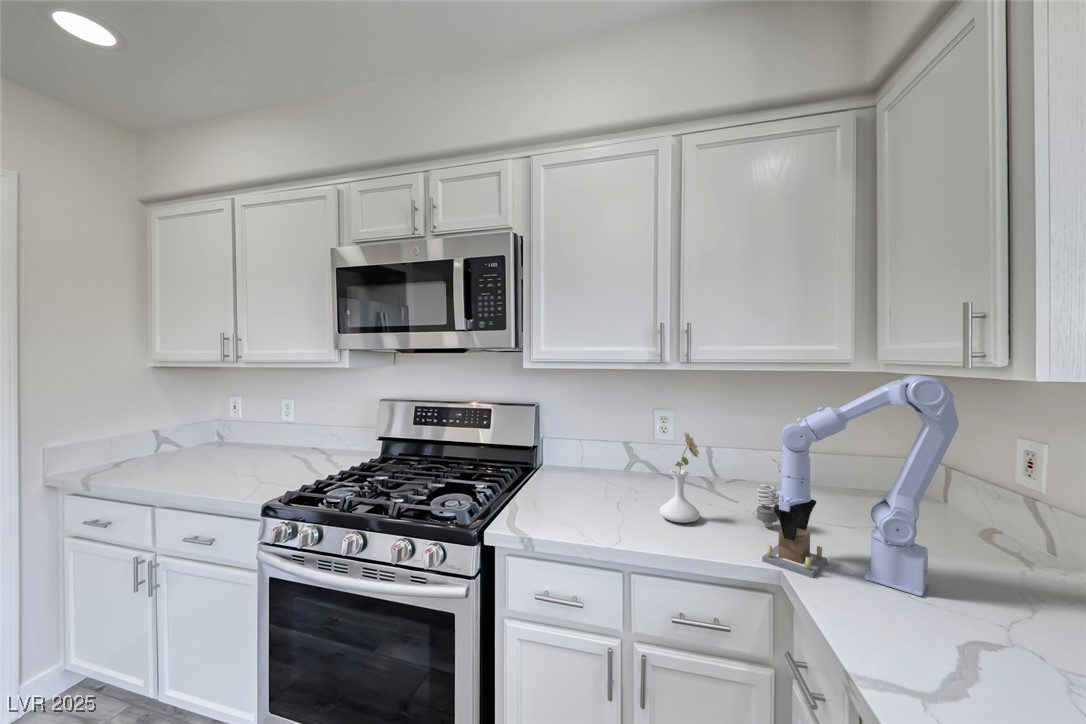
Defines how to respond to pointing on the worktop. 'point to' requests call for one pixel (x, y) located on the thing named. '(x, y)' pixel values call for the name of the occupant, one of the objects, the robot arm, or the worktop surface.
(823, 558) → the standoff board
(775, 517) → the light bulb
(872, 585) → the worktop surface
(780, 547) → the walnut block
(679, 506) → the flower in vase
